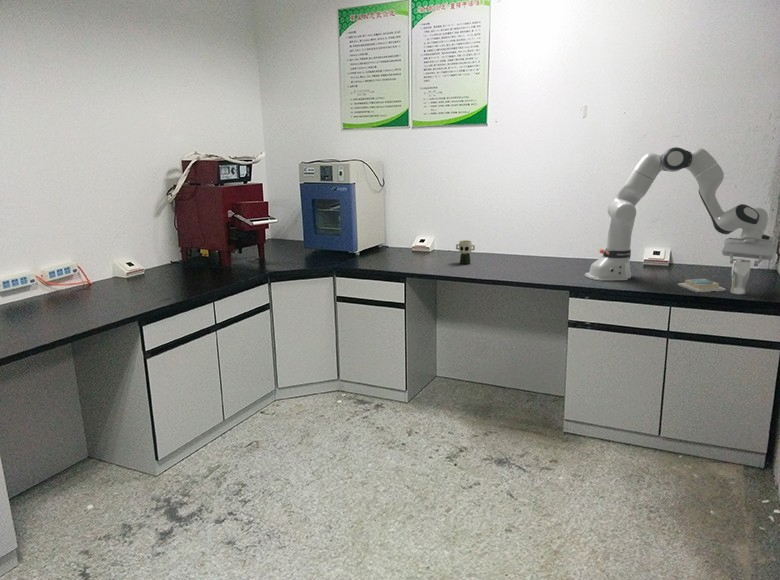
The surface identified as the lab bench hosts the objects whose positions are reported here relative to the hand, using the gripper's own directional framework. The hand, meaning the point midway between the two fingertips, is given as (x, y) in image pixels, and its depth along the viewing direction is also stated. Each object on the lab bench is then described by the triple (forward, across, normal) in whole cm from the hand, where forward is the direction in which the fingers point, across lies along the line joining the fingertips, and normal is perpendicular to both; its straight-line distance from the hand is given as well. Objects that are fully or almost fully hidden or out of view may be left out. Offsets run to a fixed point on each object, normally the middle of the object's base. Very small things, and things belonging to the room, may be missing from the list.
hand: (743, 264), depth 258 cm
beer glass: (+12, 0, +6) cm, 14 cm away
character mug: (+26, -135, -8) cm, 137 cm away
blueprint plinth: (+12, -15, +5) cm, 20 cm away
